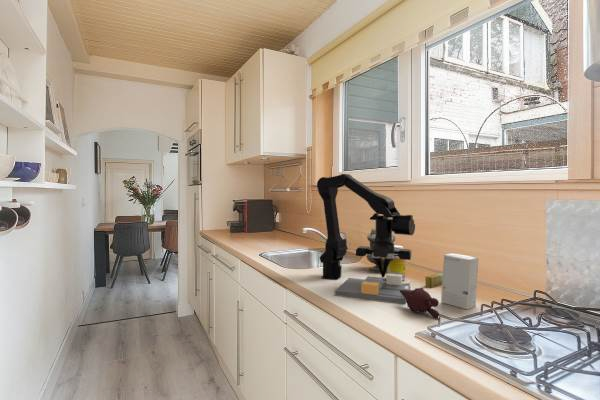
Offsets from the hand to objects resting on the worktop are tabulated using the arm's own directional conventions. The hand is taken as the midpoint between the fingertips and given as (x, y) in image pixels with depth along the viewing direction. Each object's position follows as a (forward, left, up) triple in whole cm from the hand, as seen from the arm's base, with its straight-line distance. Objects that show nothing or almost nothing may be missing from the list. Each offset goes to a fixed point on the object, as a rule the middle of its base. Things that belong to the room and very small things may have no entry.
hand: (383, 276), depth 121 cm
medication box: (+18, +11, -4) cm, 22 cm away
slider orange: (-2, -14, -2) cm, 14 cm away
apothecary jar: (-5, +26, -4) cm, 27 cm away
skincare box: (+24, -10, -4) cm, 26 cm away
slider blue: (-2, -7, -2) cm, 8 cm away
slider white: (+4, 0, -2) cm, 4 cm away
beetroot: (+13, -21, -4) cm, 25 cm away
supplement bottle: (+3, +13, -4) cm, 14 cm away
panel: (-2, -7, -4) cm, 8 cm away
